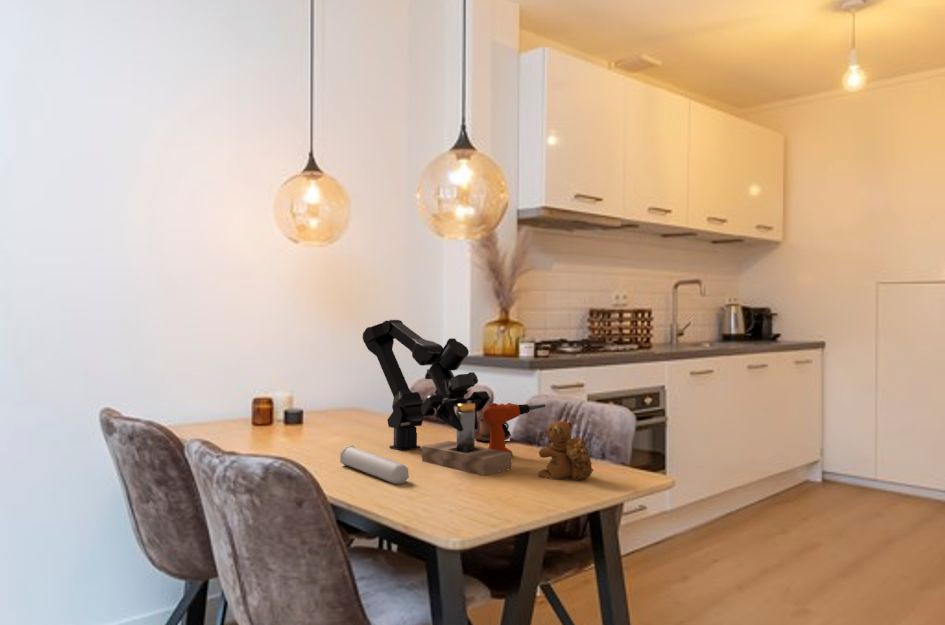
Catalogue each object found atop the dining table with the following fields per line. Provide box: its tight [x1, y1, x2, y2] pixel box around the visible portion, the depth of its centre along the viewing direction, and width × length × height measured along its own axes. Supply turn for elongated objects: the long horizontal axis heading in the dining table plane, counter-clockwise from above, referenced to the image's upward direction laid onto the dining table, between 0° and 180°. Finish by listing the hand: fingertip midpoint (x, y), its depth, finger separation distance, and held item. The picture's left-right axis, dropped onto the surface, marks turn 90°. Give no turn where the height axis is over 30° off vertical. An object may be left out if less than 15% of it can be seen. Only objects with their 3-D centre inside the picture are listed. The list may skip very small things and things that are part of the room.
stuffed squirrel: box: [537, 420, 594, 481], centre depth 164 cm, size 10×14×13 cm
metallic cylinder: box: [456, 402, 476, 453], centre depth 175 cm, size 5×5×13 cm
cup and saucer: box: [475, 418, 512, 443], centre depth 211 cm, size 12×12×6 cm
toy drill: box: [482, 402, 547, 455], centre depth 188 cm, size 5×19×15 cm, turn 106°
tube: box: [339, 445, 410, 485], centre depth 164 cm, size 5×5×25 cm
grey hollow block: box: [421, 440, 513, 476], centre depth 175 cm, size 22×10×4 cm, turn 47°
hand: (468, 429), depth 174 cm, fingers closed on metallic cylinder, 5 cm apart
